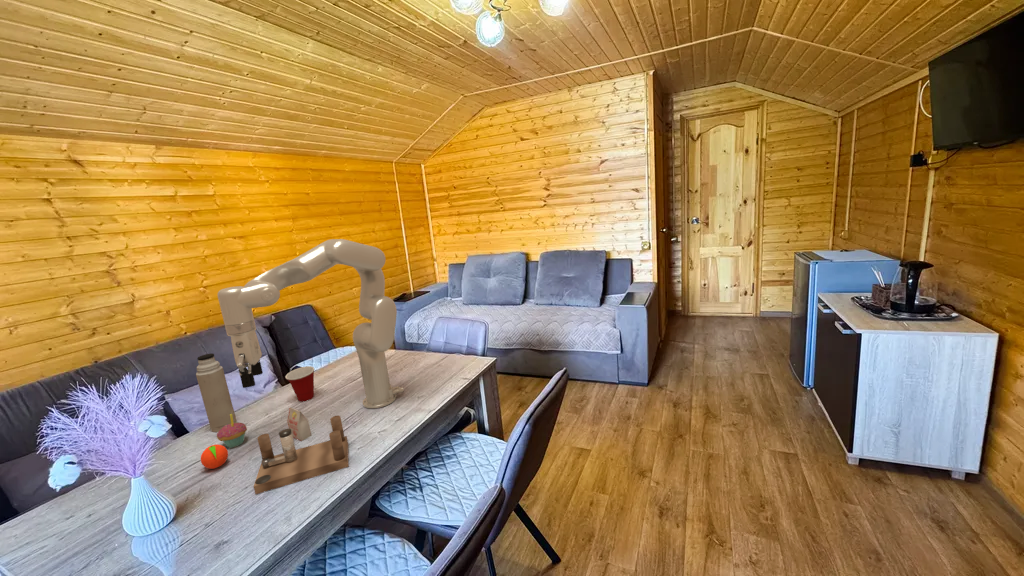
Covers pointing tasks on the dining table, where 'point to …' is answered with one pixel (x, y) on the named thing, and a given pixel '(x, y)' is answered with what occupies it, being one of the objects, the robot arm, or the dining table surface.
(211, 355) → the thermos bottle
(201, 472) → the dining table surface
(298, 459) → the stool seat
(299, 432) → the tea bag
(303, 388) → the plastic cup
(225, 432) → the cupcake
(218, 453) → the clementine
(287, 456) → the stool leg
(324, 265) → the robot arm
